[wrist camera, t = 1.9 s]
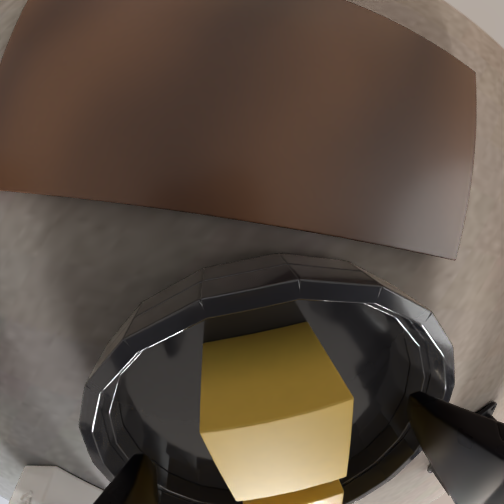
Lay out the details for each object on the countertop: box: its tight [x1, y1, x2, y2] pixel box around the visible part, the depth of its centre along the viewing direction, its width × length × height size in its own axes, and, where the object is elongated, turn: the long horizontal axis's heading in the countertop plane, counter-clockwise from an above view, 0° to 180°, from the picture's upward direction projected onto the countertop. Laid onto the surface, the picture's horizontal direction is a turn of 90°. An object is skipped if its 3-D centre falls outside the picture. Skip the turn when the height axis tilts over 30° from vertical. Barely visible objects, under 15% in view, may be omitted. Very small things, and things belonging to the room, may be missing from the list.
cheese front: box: [199, 322, 354, 501], centre depth 9 cm, size 4×4×4 cm
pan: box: [79, 253, 455, 504], centre depth 11 cm, size 16×16×3 cm
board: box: [0, 0, 476, 260], centre depth 8 cm, size 20×9×1 cm, turn 80°
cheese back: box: [243, 479, 344, 504], centre depth 11 cm, size 4×4×4 cm
